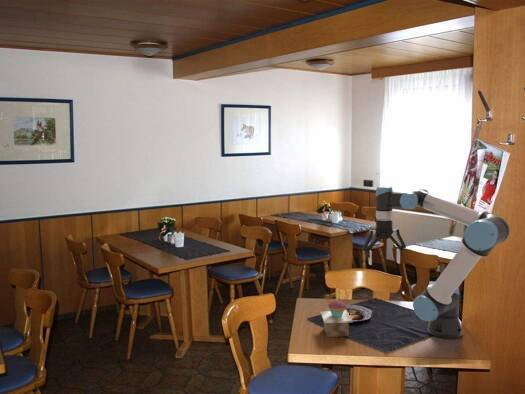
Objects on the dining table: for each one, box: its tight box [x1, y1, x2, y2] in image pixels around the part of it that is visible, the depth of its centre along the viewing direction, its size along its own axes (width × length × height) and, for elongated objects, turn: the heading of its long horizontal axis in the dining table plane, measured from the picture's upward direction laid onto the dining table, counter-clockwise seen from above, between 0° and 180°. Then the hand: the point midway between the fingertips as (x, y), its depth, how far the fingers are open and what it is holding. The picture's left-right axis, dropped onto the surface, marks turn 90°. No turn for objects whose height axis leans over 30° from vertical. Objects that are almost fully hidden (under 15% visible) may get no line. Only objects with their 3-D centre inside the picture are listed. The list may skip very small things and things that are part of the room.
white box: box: [319, 310, 354, 338], centre depth 245 cm, size 13×13×8 cm
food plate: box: [325, 303, 373, 323], centre depth 266 cm, size 25×23×4 cm
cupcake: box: [327, 289, 346, 318], centre depth 243 cm, size 9×8×12 cm
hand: (384, 263), depth 247 cm, fingers open, 13 cm apart
